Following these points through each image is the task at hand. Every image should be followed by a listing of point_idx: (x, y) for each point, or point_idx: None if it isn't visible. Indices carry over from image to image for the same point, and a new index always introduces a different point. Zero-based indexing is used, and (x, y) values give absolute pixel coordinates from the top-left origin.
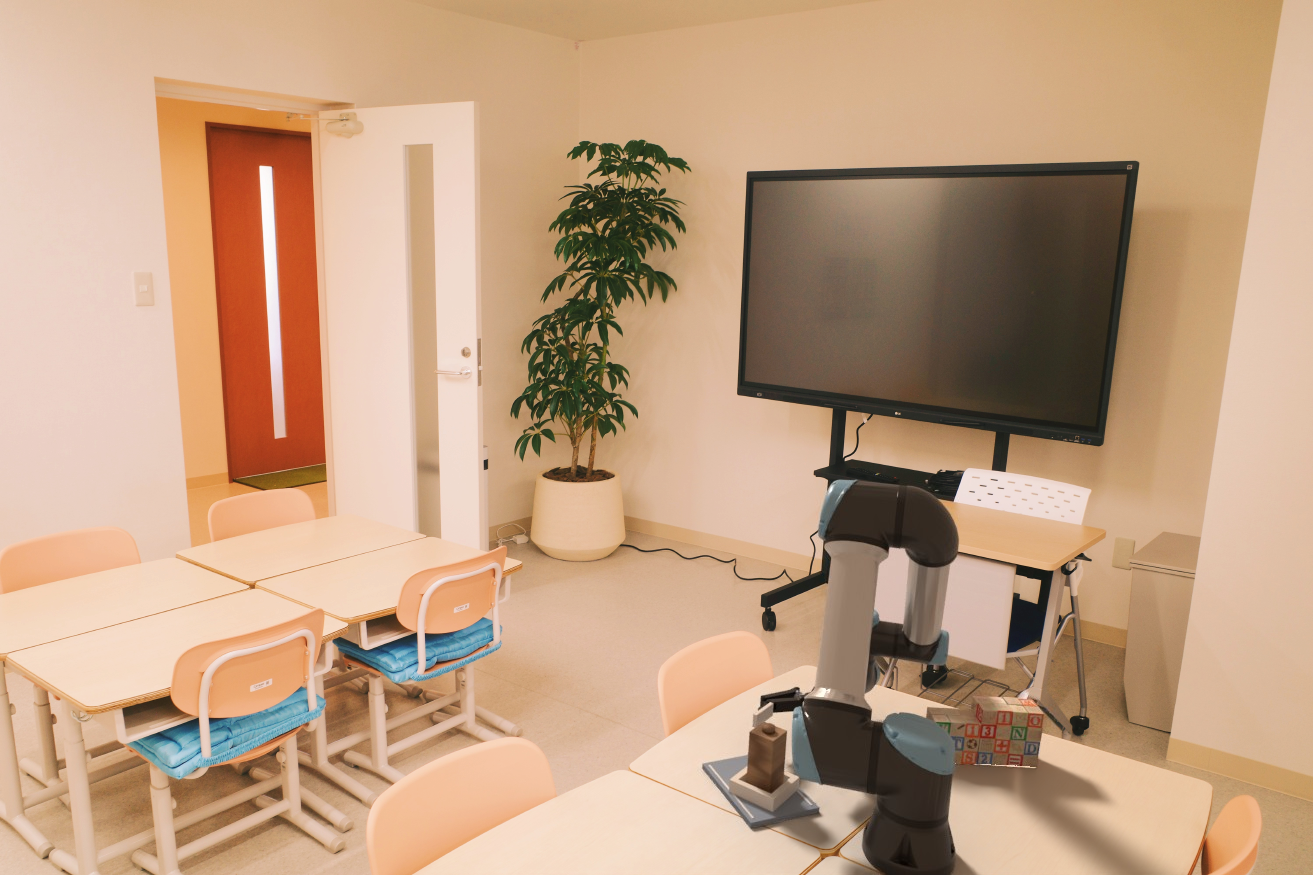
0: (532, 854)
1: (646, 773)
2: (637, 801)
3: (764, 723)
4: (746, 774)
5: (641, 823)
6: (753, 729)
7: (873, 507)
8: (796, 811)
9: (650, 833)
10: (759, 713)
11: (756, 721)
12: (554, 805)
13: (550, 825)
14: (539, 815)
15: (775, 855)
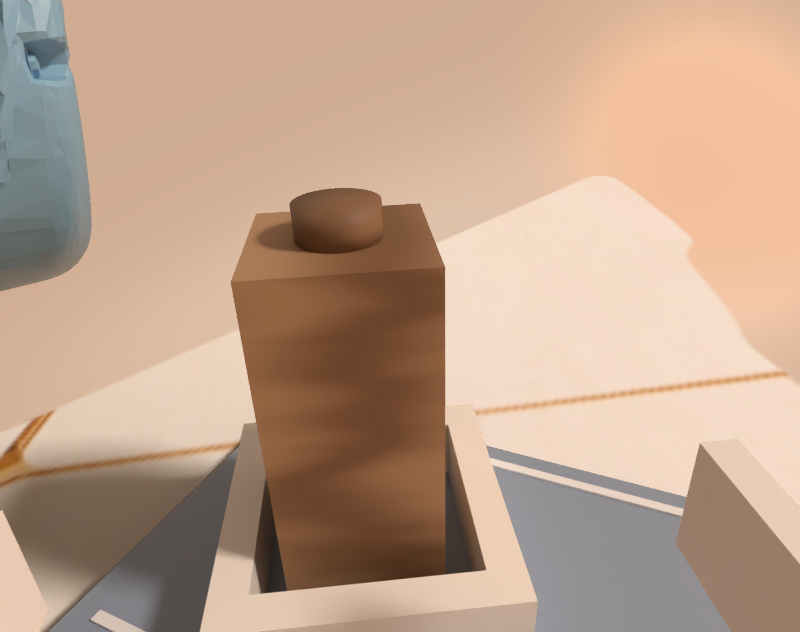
0: (557, 206)
1: (763, 387)
2: (615, 319)
3: (378, 204)
4: (461, 481)
5: (524, 293)
6: (419, 216)
7: None
8: (160, 533)
9: (479, 289)
10: (733, 488)
11: (688, 499)
12: (688, 246)
13: (621, 230)
14: (664, 230)
15: (168, 384)
